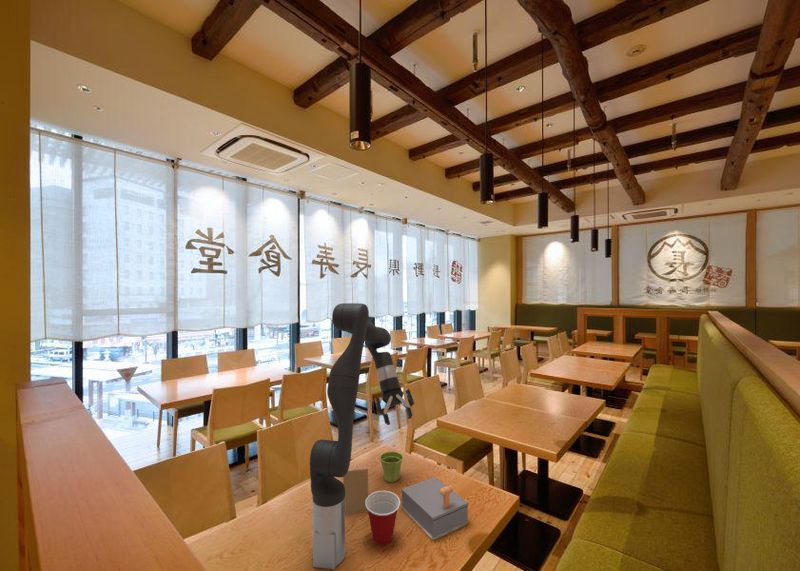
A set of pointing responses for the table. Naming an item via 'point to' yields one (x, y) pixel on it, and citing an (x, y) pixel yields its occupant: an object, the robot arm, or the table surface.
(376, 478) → the table surface
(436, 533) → the carton
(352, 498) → the sandwich container
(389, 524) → the plastic cup
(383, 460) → the plant pot
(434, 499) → the carton lid
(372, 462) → the table surface
